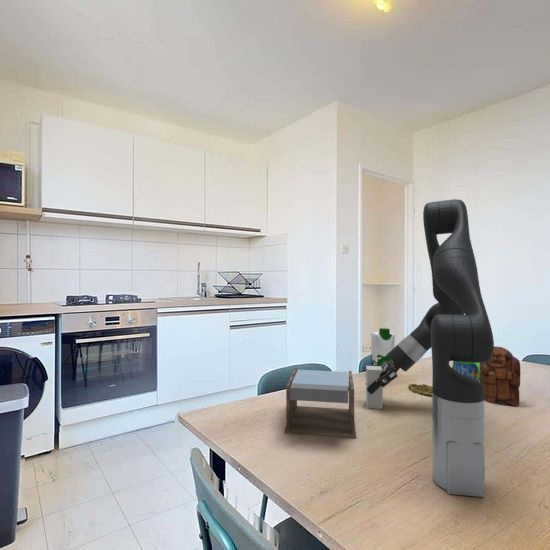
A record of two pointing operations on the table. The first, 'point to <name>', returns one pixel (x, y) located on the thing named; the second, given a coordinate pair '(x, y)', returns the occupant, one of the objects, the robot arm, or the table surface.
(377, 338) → the milk carton
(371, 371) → the grey stone pillar
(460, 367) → the green blue printed box
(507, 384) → the wooden figurine
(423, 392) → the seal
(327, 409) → the trapdoor stand
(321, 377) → the trapdoor
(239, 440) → the table surface
